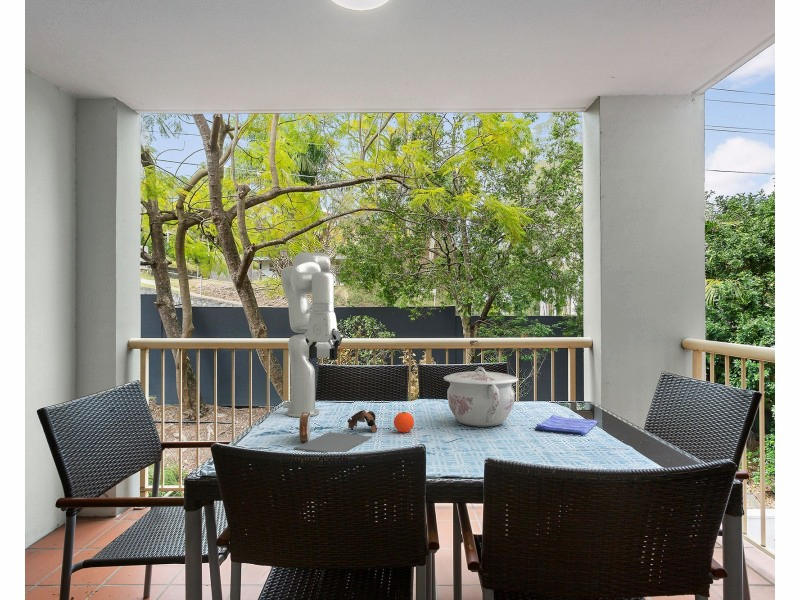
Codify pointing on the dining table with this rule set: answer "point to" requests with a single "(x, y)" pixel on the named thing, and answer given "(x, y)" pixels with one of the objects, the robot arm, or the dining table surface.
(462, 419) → the chamber pot
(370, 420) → the pottery mug
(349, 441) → the mat
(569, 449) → the dining table surface
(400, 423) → the clementine
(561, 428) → the dish towel
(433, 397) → the dining table surface
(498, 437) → the dining table surface
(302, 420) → the tin
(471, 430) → the dining table surface
